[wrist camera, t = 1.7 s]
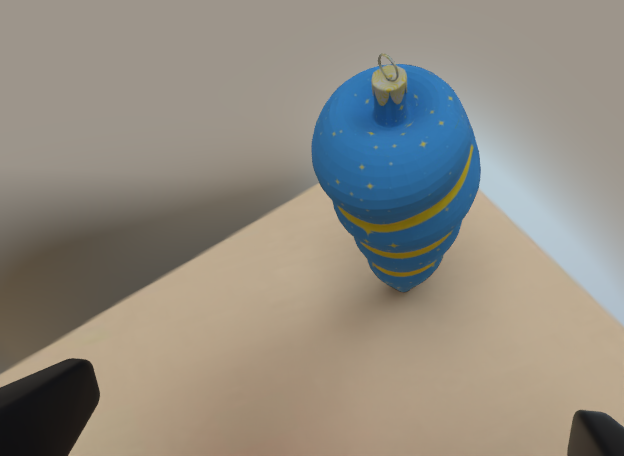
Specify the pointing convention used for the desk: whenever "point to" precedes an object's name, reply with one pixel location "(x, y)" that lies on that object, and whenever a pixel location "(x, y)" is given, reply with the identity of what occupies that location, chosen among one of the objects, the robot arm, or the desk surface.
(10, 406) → the robot arm
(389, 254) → the ornament
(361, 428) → the desk surface
